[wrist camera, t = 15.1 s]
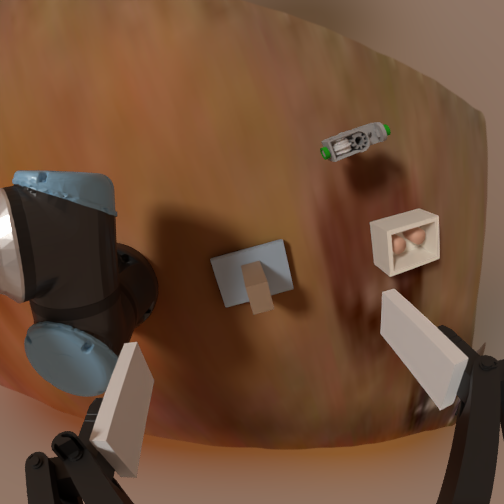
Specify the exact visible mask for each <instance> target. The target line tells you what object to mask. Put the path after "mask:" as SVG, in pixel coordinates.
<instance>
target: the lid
mask: <svg viewBox="0 0 504 504" xmlns="http://www.w3.org/2000/svg"><path fill="white" fill-rule="evenodd" d="M210 261H211V264H212V267H213V270H214V274H215V277H216V280H217V283H218V286H219V289H220V292H221V295H222V298H223V301H224V304H225V307H230V306H234V305H238V304H242V303H245V302H249V301H250V305H251V308H252V311H253V315H255V314H259V313H262V312H266V311H269V310H273V309H274V305H273V302H272V298H271V295H274V294H278V293H281V292H285V291H288V290H292V289H294V288H293V284H292V279H291V274H290V270H289V265H288V261H287V256H286V252H285V247H284V243H283V240H282V239H280V240H276V241H272V242H269V243H265V244H261V245H258V246H254V247H250V248H247V249H243V250H240V251H236V252H232V253H229V254H225V255H221V256H218V257H214V258H210Z"/></svg>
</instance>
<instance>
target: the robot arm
mask: <svg viewBox="0 0 504 504" xmlns="http://www.w3.org/2000/svg"><path fill="white" fill-rule="evenodd" d="M12 181H13V184H14V185H13V186H10V187H5V188H0V294H4V295H6V296H8V297H9V298H11V299H13V300H14V301H16V302H17V303H23V302H26V301H28V300H29V301H30V306H31V310H32V314H33V318H34V324H33V325H32V326H31V327H30V328H29V329H28V331H27V336H26V338H25V343H24V344H25V352H26V355H27V357H28V359H29V361H30V363H31V365H32V366H33V368H34V369H35V370H36V371H37V372H38V374H39V375H40V376H42V377H43V378H44V379H45V380H46V381H48V382H49V383H51V384H52V385H53V386H55V387H57V388H58V389H60V390H62V391H65V392H67V393H70V394H74V395H78V396H96V395H100V394H102V393H104V392H105V391H106V392H105V395H104V398H96V399H95V400H94V401H93V402H92V404H91V405H90V406H89V409H88V412H87V415H86V417H85V420H84V421H85V422H83V425H82V428H81V431H80V434H79V436H77V435H76V434H75V433H73V432H71V431H65V432H62V433H60V434H58V435H57V436H56V437H55V438H54V439H53V441H52V445H51V447H52V450H53V451H54V452H55V454H56V455H57V456H58V457H54V458H48V457H47V456H46V455H45V454H44V453H42V452H35V453H33V454H31V455H30V456H29V457H28V458H27V460H26V464H25V472H26V486H27V496H28V504H83V501H84V502H85V504H134V503H133V502H132V501H131V500H130V498H129V497H128V496H127V494H126V493H125V492H124V490H123V489H122V488H121V486H120V485H119V483H118V482H117V481H116V480H115V479H114V478H113V476H114V471H116V472H117V473H118V474H119V475H120V477H137V471H138V465H139V459H140V452H141V447H142V441H143V435H144V430H145V424H146V419H147V414H148V409H149V404H150V399H151V394H152V389H153V384H154V379H153V377H152V374H151V372H150V370H149V368H148V366H147V363H146V361H145V359H144V357H143V354H142V352H141V350H140V347H139V345H138V343H137V342H132V343H129V341H130V339H131V336H132V333H133V331H134V329H135V328H136V327H137V326H139V325H140V324H141V323H143V322H144V321H145V320H146V319H147V318H148V317H149V316H150V314H151V313H152V311H153V309H154V306H155V303H156V300H157V296H158V283H157V278H156V275H155V273H154V270H153V268H152V267H151V265H150V264H149V262H148V261H147V260H146V259H145V258H144V257H143V256H142V255H141V254H140V253H139V252H137V251H136V250H134V249H133V248H131V247H129V246H126V245H124V244H120V243H117V242H116V219H115V217H117V212H116V211H115V197H114V186H113V183H112V181H111V180H110V179H109V178H108V177H107V176H106V175H103V174H98V173H85V172H66V171H35V170H34V171H23V170H20V171H17V172H15V174H14V178H13V180H12ZM380 334H381V335H382V336H383V337H384V339H385V340H386V341H387V342H388V344H389V345H390V346H391V347H392V349H393V350H394V351H395V352H396V354H397V355H398V356H399V357H400V359H401V360H402V361H403V362H404V364H405V365H406V366H407V368H408V369H409V370H410V371H411V373H412V374H413V375H414V377H415V378H416V379H417V380H418V382H419V383H420V384H421V386H422V387H423V388H424V390H425V391H426V392H427V394H428V395H429V396H430V398H431V399H432V400H433V402H434V403H435V404H436V406H437V407H438V408H439V410H442V409H444V408H446V407H448V406H450V405H452V404H453V403H454V400H455V398H456V395H457V396H458V397H459V398H460V399H461V401H460V403H459V406H458V408H457V411H456V413H455V415H457V414H458V415H457V421H456V427H455V432H454V438H453V443H452V448H451V452H450V457H449V461H448V465H447V469H446V473H445V477H444V480H443V484H442V487H441V491H440V494H439V497H438V500H437V503H436V504H489V503H490V498H491V494H492V489H493V482H494V477H495V470H496V463H497V454H498V444H499V431H500V424H501V428H502V433H503V439H504V359H503V360H499V361H497V360H496V359H495V358H493V357H491V356H487V355H484V356H480V355H479V354H478V353H476V352H475V351H474V350H473V349H472V348H471V347H470V346H469V345H468V344H467V343H466V342H465V341H464V340H462V339H461V338H460V337H459V336H457V334H456V333H455V332H454V331H453V330H452V329H450V328H448V327H446V326H443V325H441V326H438V327H436V326H435V325H434V324H433V323H431V322H430V321H429V320H428V319H427V318H426V317H425V316H424V315H423V314H422V313H421V312H420V311H418V310H417V309H416V308H415V307H414V306H413V305H412V304H411V303H410V302H409V301H407V300H406V299H405V298H404V297H403V296H402V295H401V294H400V293H398V292H397V291H396V290H395V289H391V290H388V291H384V292H382V313H381V332H380ZM82 499H83V501H82Z"/></svg>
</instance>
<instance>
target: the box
mask: <svg viewBox="0 0 504 504" xmlns="http://www.w3.org/2000/svg"><path fill="white" fill-rule="evenodd" d="M370 229H371V237H372V247H373V257H374V264H375V265H376V266H377V267H379V268H380V269H381V270H382V271H383V272H385V273H386V274H387V275H388V276H390V277H391V276H394V275H397V274H400V273H402V272H405V271H408V270H411V269H413V268H416V267H419V266H422V265H424V264H427V263H430V262H432V261H435V260H437V259H440V242H439V216H438V215H435V214H433V213H430V212H427V211H425V210H422V209H415V210H412V211H408V212H405V213H401V214H397V215H394V216H390V217H386V218H383V219H379V220H376V221H372V222H370Z"/></svg>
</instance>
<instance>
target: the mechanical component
mask: <svg viewBox="0 0 504 504" xmlns="http://www.w3.org/2000/svg"><path fill="white" fill-rule="evenodd" d="M388 135H390V129H389V127H388V126H387V125H386V124H385V125H382V124H381V123H380V122H376V123H370V124H366V125H363V126H361V127H358V128H355V129H352V130H348V131H345V132H341V133H339V134H338V135H336V136H332V137H330V138H328V139H326V140H323V141H322V144H323V148H321V149H320V151H321V154H322V156H323V158H324V159H325V160H326V159H328V160H330V161H333V162H336V161H338V160H341V159H343V158H346V157H348V156H351V155H353V154H356V153H358V152H364V151H366V150H367V149H368V148H369V146H370V145H372V144H375V143H378V142H383V141H385V140H387V136H388Z"/></svg>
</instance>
